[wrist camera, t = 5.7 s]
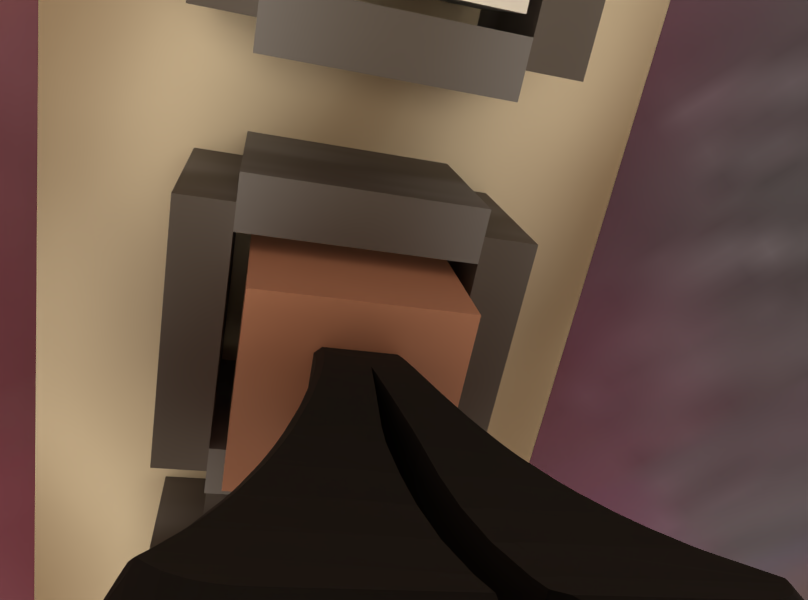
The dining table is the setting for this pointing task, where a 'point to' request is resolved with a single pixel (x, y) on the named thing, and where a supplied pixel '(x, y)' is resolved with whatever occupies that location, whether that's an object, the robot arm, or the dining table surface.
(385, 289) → the terracotta button
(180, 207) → the button panel
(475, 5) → the offwhite button
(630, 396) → the dining table surface
